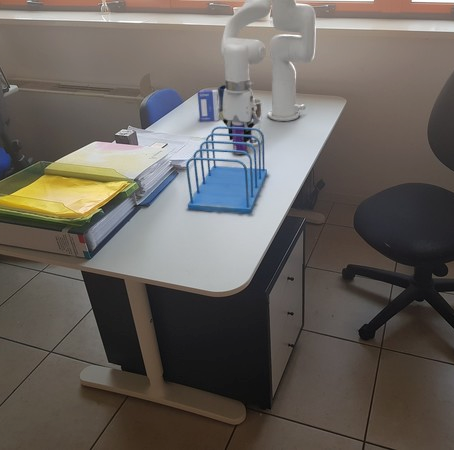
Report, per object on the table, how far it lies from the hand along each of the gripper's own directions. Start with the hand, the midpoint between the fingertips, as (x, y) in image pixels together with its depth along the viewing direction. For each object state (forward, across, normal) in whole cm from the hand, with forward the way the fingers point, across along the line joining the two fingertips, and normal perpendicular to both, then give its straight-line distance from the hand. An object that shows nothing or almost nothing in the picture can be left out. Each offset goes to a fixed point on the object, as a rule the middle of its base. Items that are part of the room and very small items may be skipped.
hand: (239, 139), depth 156 cm
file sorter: (+5, -10, +27) cm, 29 cm away
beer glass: (+5, 0, -10) cm, 12 cm away
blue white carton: (+5, +26, -27) cm, 38 cm away
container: (+5, 0, 0) cm, 5 cm away
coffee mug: (+5, +24, -44) cm, 50 cm away
